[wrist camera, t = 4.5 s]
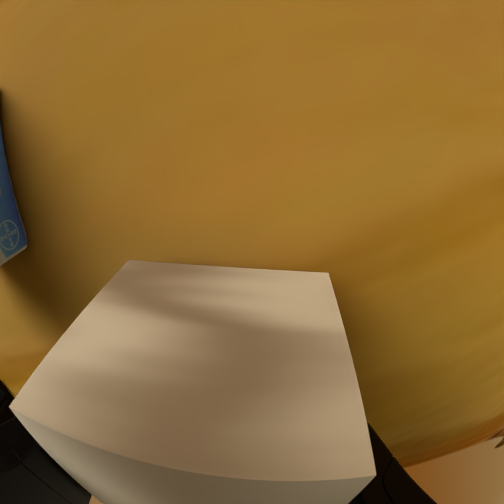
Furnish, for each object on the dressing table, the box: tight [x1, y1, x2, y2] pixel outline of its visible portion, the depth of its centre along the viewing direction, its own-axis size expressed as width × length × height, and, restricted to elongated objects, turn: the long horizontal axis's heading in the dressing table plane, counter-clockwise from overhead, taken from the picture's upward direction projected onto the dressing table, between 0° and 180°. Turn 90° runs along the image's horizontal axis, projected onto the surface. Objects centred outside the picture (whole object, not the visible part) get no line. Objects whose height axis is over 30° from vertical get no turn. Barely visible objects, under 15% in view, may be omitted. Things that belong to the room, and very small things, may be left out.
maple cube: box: [9, 260, 376, 504], centre depth 7 cm, size 6×6×6 cm
